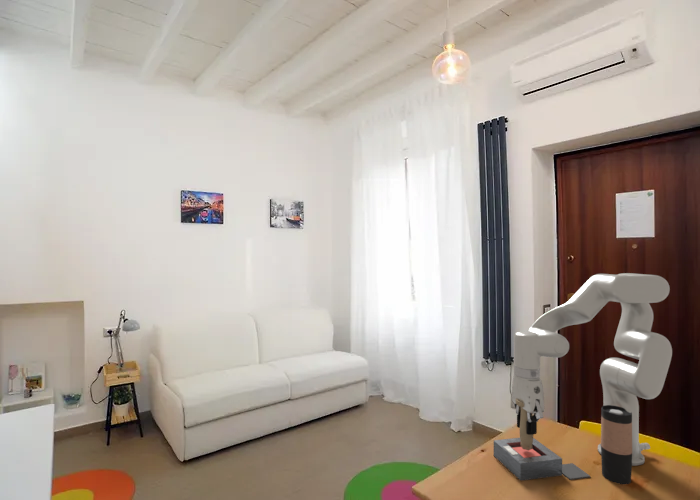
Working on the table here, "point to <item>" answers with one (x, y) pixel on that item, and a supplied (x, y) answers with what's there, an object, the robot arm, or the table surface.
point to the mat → (573, 472)
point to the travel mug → (616, 444)
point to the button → (526, 452)
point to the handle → (524, 428)
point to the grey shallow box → (528, 460)
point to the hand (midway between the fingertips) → (526, 429)
